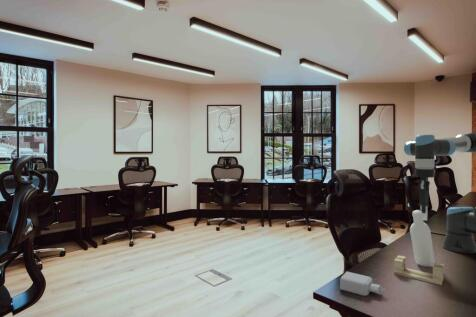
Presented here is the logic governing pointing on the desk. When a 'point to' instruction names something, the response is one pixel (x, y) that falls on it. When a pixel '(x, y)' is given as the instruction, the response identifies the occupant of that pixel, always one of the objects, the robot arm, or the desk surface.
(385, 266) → the desk surface
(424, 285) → the desk surface
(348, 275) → the white flat bottle
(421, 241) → the bottle
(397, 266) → the bottle rest
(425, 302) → the desk surface
